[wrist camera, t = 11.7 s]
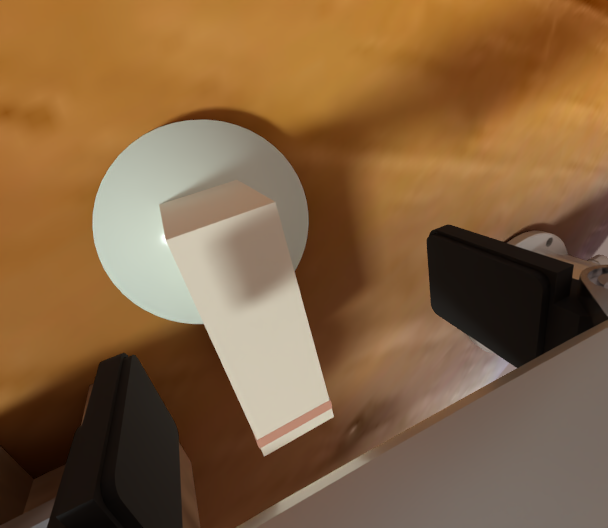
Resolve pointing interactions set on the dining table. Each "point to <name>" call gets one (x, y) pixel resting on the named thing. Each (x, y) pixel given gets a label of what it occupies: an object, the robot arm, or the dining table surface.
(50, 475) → the dispenser
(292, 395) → the white box
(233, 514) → the dining table surface
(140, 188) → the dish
